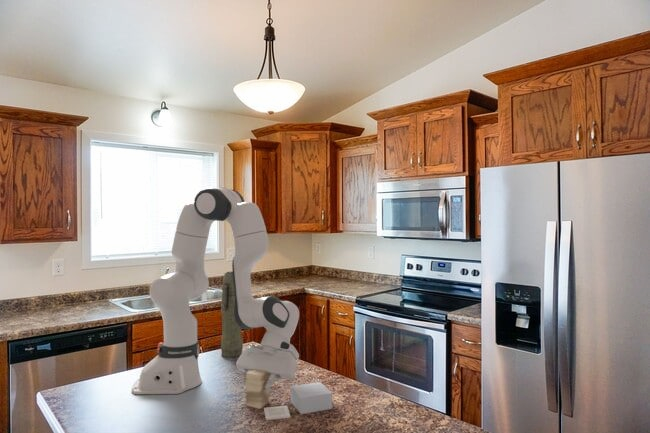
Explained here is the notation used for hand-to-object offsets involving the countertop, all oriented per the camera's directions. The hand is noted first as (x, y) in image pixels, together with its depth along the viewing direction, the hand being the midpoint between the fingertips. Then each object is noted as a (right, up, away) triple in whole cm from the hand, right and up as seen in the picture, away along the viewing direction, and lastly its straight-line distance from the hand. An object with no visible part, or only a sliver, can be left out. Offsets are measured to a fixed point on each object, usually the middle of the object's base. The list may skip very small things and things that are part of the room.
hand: (256, 387), depth 136 cm
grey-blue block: (+17, -6, 0) cm, 18 cm away
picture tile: (+7, -5, -6) cm, 11 cm away
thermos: (-18, -6, +51) cm, 54 cm away
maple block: (0, -5, 0) cm, 5 cm away
